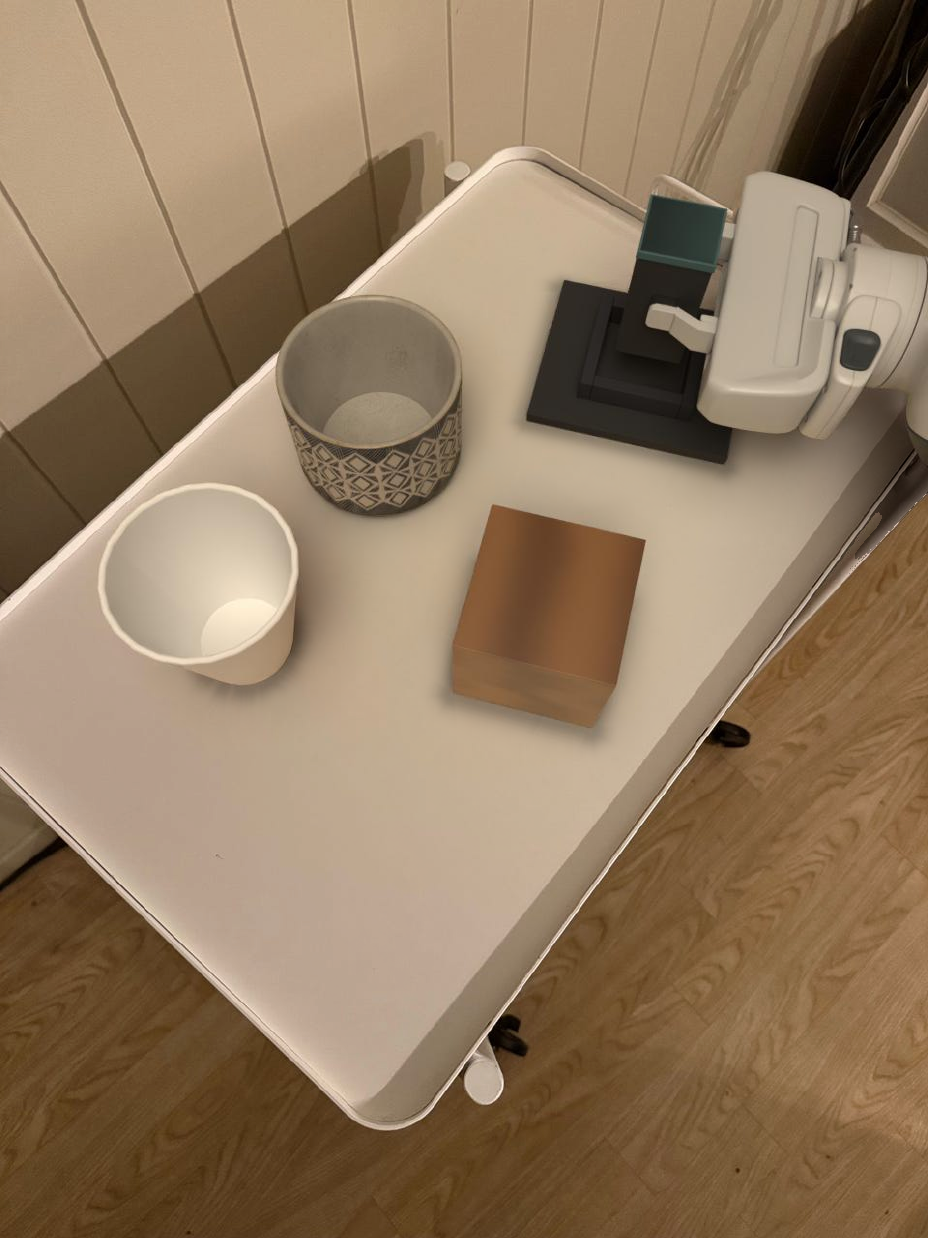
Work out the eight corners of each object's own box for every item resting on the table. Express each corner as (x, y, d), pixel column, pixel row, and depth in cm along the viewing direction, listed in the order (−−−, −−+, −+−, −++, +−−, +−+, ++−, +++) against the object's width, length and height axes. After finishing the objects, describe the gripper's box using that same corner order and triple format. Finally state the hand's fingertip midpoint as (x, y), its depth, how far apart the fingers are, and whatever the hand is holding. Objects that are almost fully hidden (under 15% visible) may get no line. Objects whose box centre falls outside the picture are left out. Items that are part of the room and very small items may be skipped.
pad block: (691, 312, 67) (727, 208, 58) (680, 365, 66) (716, 266, 56) (625, 298, 68) (650, 193, 59) (612, 351, 66) (637, 251, 57)
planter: (488, 484, 68) (494, 404, 58) (339, 548, 66) (318, 476, 56) (420, 363, 72) (414, 270, 62) (277, 420, 70) (247, 332, 60)
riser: (618, 600, 64) (646, 539, 55) (591, 728, 61) (615, 686, 51) (487, 568, 65) (492, 503, 56) (453, 693, 61) (452, 646, 52)
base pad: (748, 326, 73) (759, 301, 71) (723, 465, 68) (735, 444, 66) (562, 287, 75) (566, 261, 72) (525, 420, 70) (528, 398, 67)
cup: (292, 741, 60) (253, 689, 49) (135, 692, 61) (60, 630, 50) (350, 590, 64) (327, 509, 53) (202, 547, 66) (147, 459, 54)
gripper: (885, 168, 61) (690, 132, 62) (859, 405, 54) (639, 359, 55) (847, 238, 67) (670, 203, 68) (820, 460, 60) (621, 417, 61)
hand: (655, 274), depth 61 cm, fingers closed on pad block, 5 cm apart
